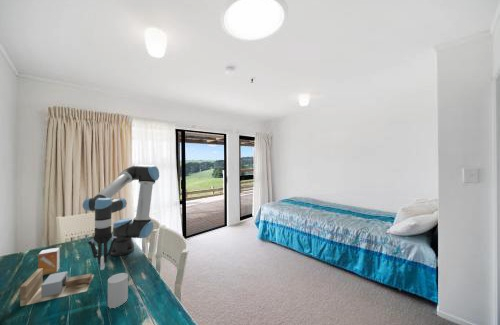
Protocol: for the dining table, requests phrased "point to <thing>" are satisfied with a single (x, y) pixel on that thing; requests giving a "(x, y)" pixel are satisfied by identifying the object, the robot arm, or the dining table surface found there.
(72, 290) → the jig
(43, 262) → the small box
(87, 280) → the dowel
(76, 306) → the dining table surface
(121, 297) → the light gray cylinder
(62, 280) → the carriage
